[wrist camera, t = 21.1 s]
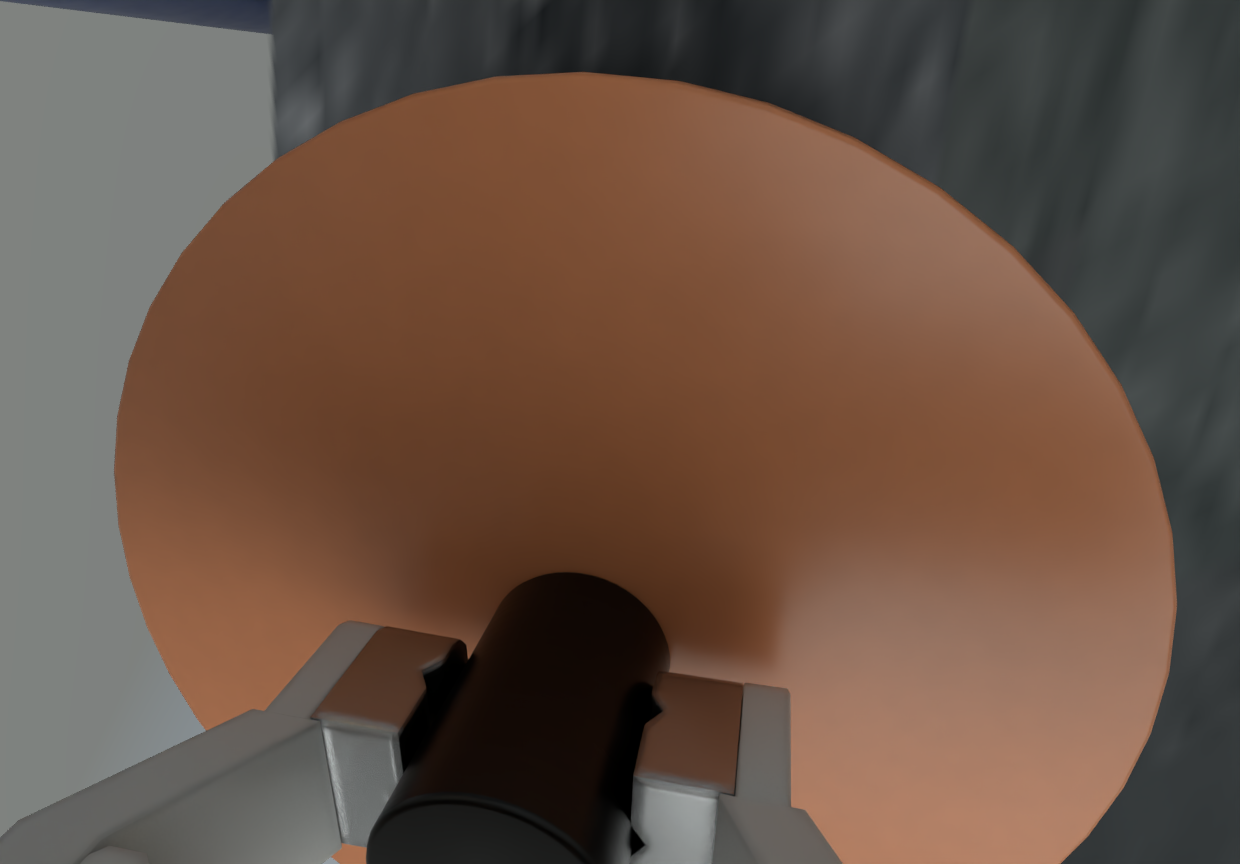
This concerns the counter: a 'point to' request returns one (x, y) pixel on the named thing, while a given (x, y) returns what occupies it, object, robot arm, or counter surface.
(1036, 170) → the counter surface
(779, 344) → the lid
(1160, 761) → the counter surface
